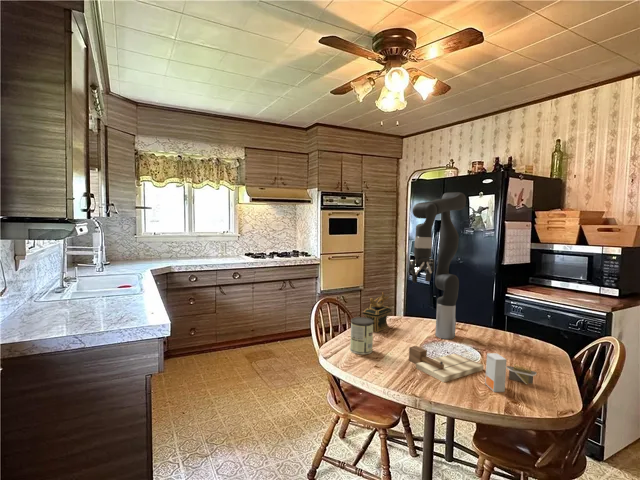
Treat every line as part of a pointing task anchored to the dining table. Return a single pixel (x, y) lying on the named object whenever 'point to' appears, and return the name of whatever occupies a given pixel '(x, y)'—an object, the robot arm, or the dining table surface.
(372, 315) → the decorative box
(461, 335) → the dining table surface
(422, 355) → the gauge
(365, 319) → the coffee can
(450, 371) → the board
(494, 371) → the skincare box
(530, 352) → the dining table surface
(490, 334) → the dining table surface
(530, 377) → the grey storage bin
